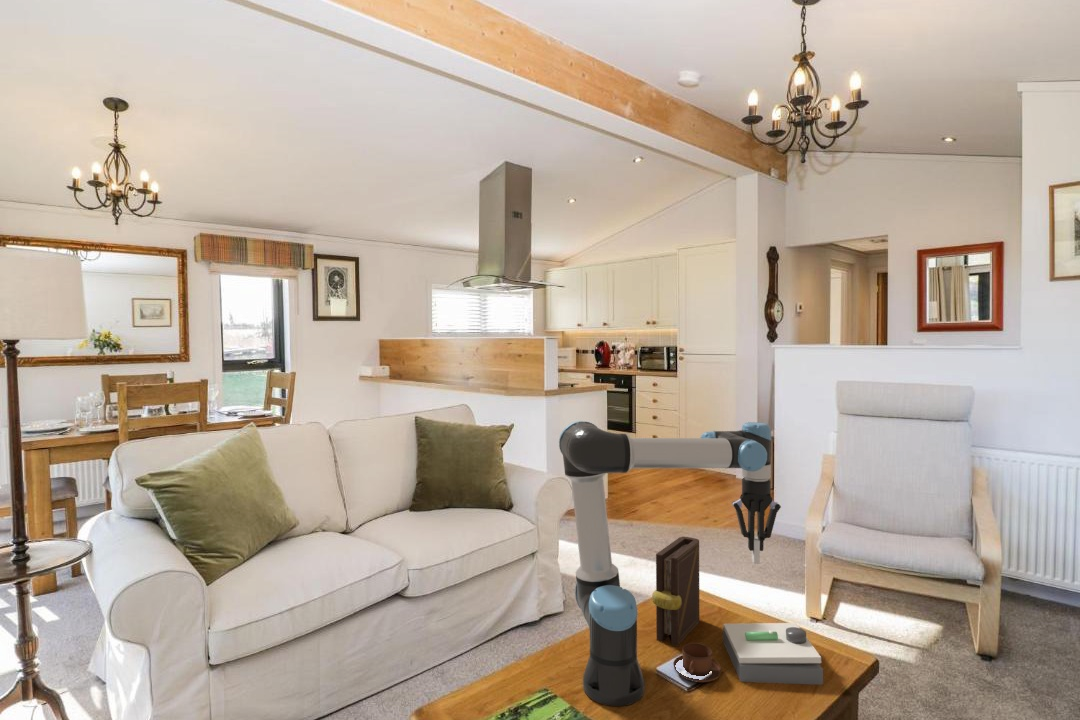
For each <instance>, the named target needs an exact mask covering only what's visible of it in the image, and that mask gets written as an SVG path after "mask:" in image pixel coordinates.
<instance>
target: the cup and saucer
mask: <svg viewBox="0 0 1080 720" xmlns="http://www.w3.org/2000/svg"><path fill="white" fill-rule="evenodd" d="M682 659H683V667H684V668H685V670H686V671H687V672H689V673H690V674H691V675H696V676H705V675H707V674H709V672H710V671H712V675H711V676H710V677H709V678H708V679H706V680H699V679H693V678H689V677H686V676H684V675H682V674H681V673H679V672H678V671H677V670H676V667H675V665H676V663H677V662H678V661H679V660H682ZM673 669H674V671H676V672H677V674H678V673H679V674H680V675H679V674H678V675H679V676H680V677H682V676H683V677H682V678H684V677H685V678H687V679H686V680H688V679H689V681H690V680H693V681H692V682H694V681H697V682H696V683H709V682H713V681H715V680H717V679H719V677H720V676H721V674H722V666H721V665H720V664H719V663H718V662H717V661H716V660H715V659H713V651H712V649H711V648H710V647H709V646H707V645H705V644H702V643H698V642H697V643H696V642H690V643H687V644H685V645H683V646H682V655H680V656H678V657H676V658H675V659H674V661H673ZM685 678H684V679H685Z"/></svg>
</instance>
